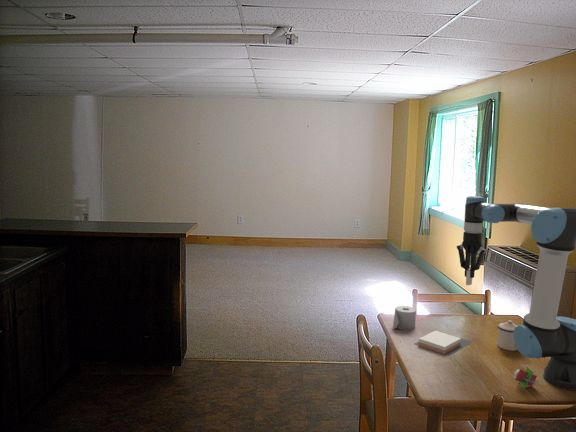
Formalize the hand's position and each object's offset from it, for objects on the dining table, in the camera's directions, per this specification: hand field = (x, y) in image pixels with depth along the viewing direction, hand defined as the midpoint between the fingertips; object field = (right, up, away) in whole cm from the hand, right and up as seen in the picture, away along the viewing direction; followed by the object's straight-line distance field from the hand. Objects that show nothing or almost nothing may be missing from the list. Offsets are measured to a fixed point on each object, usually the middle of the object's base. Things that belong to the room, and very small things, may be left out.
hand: (468, 284), depth 219 cm
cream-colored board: (-10, -23, -3) cm, 25 cm away
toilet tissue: (-26, -22, +14) cm, 37 cm away
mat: (-12, -25, -5) cm, 28 cm away
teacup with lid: (+15, -26, -5) cm, 30 cm away
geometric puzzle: (+5, -31, -42) cm, 52 cm away
